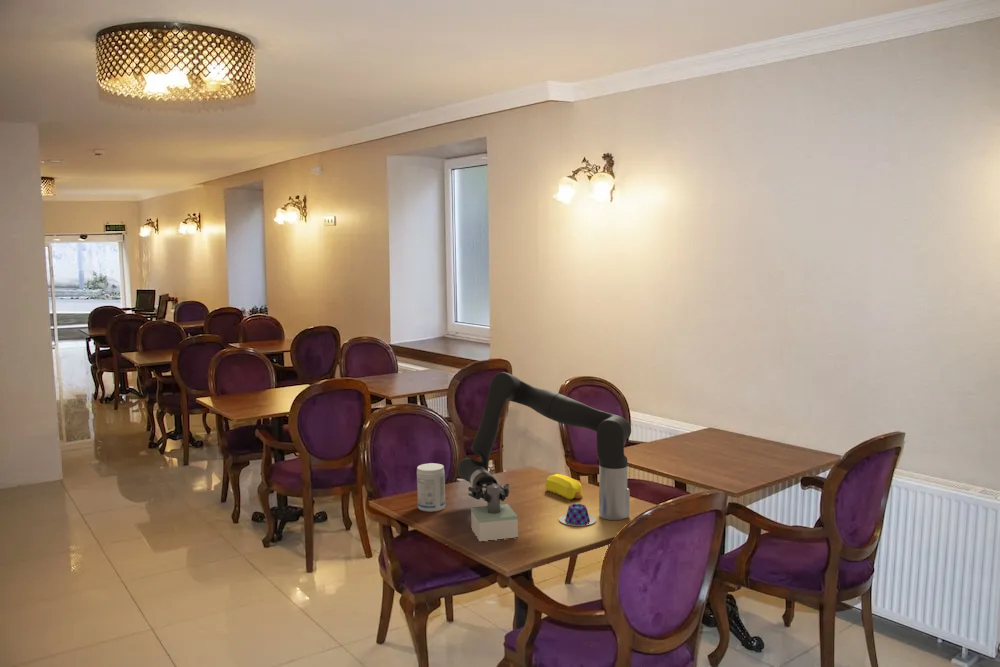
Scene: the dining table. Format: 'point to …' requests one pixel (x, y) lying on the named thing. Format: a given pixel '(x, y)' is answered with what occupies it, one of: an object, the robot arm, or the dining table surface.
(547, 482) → the yellow rounded loaf
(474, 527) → the storage box
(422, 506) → the supplement tub
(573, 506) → the pudding
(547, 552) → the dining table surface
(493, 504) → the lid
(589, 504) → the dining table surface
